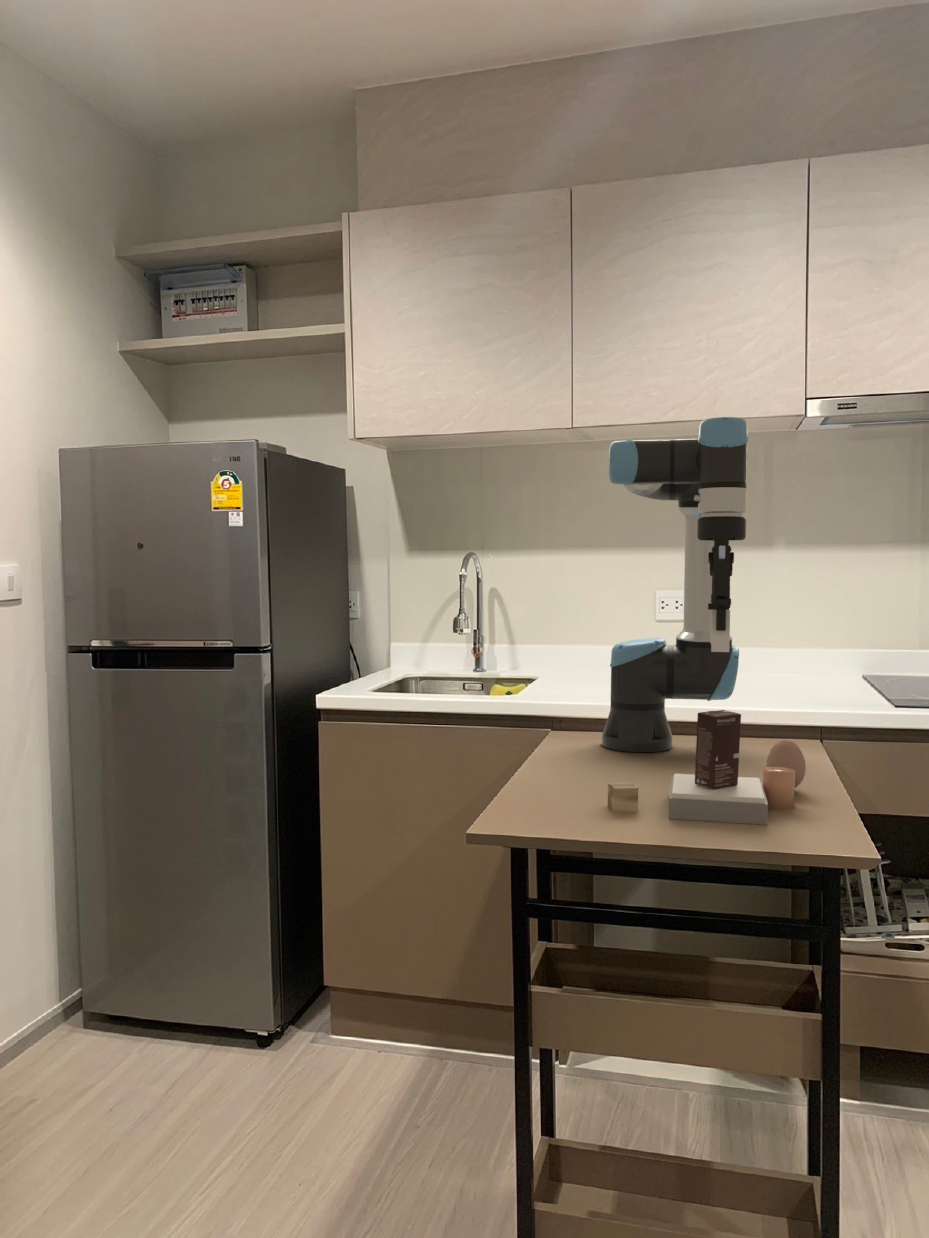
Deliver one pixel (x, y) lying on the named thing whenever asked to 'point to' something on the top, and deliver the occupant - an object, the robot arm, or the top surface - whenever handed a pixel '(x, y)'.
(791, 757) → the egg
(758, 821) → the podium
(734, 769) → the box
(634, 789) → the oak block
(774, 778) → the tan round piece
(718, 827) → the top surface
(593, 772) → the top surface
